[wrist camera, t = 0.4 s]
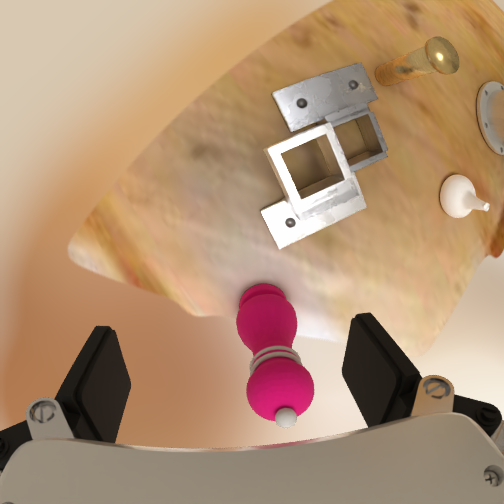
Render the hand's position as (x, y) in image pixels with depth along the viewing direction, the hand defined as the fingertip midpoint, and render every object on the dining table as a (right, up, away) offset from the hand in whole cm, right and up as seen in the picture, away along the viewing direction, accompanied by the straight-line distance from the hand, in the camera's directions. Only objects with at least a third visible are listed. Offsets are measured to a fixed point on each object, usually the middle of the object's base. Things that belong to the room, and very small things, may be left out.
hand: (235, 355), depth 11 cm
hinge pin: (+17, +26, +19) cm, 37 cm away
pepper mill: (+2, -3, +28) cm, 29 cm away
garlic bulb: (+30, +12, +25) cm, 41 cm away
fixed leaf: (+11, +20, +21) cm, 31 cm away
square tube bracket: (+7, +12, +23) cm, 27 cm away
